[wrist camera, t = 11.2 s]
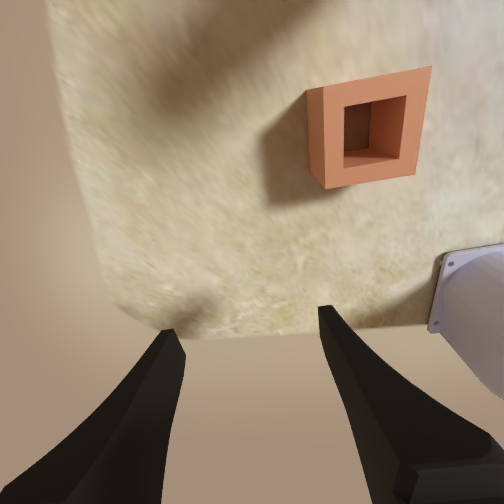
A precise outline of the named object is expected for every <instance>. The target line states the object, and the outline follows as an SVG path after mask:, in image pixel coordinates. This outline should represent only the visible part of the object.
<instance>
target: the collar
mask: <svg viewBox="0 0 504 504" xmlns="http://www.w3.org/2000/svg"><path fill="white" fill-rule="evenodd" d="M431 69H432V66H429V67H423V68H418V69H413V70H408V71H403V72H397V73H392V74H387V75H382V76H377V77H371V78H366V79H361V80H356V81H351V82H345V83H340V84H335V85H330V86H325V87H320V88H315V89H310V90H306V98H307V119H308V139H309V159H310V173H311V174H312V175H313V176H314V177H315V179H316V180H317V181H318V182H319V183H320V184H321V185H322V186H323V187H324V188H325V189H330V188H336V187H342V186H348V185H354V184H360V183H366V182H372V181H378V180H384V179H390V178H396V177H402V176H408V175H414V174H415V173H416V166H417V160H418V153H419V147H420V140H421V134H422V127H423V121H424V114H425V108H426V101H427V95H428V88H429V82H430V75H431ZM367 102H371V117H370V133H369V148H364V149H359V150H353V151H347V152H344V107H345V106H351V105H356V104H361V103H367Z"/></svg>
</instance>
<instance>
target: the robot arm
mask: <svg viewBox="0 0 504 504" xmlns="http://www.w3.org/2000/svg"><path fill="white" fill-rule="evenodd" d="M449 262H450V263H449ZM448 263H449V264H448ZM318 316H319V330H320V338H321V342H322V345H323V349H324V353H325V356H326V359H327V362H328V365H329V367H330V370H331V372H332V375H333V377H334V380H335V383H336V385H337V388H338V390H339V393H340V396H341V398H342V401H343V403H344V406H345V409H346V412H347V415H348V418H349V422H350V425H351V429H352V432H353V435H354V439H355V442H356V446H357V449H358V453H359V456H360V460H361V463H362V467H363V471H364V474H365V478H366V482H367V485H368V489H369V493H370V496H371V500H372V503H373V504H504V450H503V449H502V447H501V446H500V445H499V444H498V443H497V442H496V441H495V439H494V438H493V437H492V436H491V435H490V434H489V433H488V432H486V431H484V430H482V429H481V428H479V427H477V426H476V425H474V424H472V423H471V422H469V421H467V420H466V419H464V418H462V417H461V416H459V415H457V414H456V413H454V412H453V411H451V410H450V409H448V408H447V407H445V406H443V405H442V404H440V403H439V402H437V401H436V400H435V399H433V398H432V397H430V396H429V395H428V394H426V393H425V392H423V391H422V390H420V389H419V388H418V387H416V386H415V385H413V384H412V383H411V382H409V381H408V380H407V379H405V378H404V377H403V376H402V375H401V374H399V373H398V372H397V371H395V370H394V369H393V368H392V367H391V366H389V365H388V364H387V363H386V362H385V361H383V359H381V358H380V357H379V356H378V355H377V354H376V353H375V352H374V351H373V350H372V349H371V348H370V347H369V346H367V345H366V343H364V341H363V340H362V339H361V338H360V337H359V336H358V335H357V334H356V333H355V332H354V331H353V330H352V329H351V328H350V327H349V325H348V324H347V323H346V322H345V321H344V320H343V318H342V317H341V316H340V315H339V314H338V312H337V311H336V310H335V308H334V307H333V306H332V305H326V306H320V307H318ZM427 330H428V331H429V332H430V333H441V335H442V336H443V337H444V338H445V339H446V341H447V342H448V343H449V344H450V345H451V346H452V348H453V349H454V350H455V351H456V352H457V354H458V355H459V356H460V357H461V358H462V360H463V361H464V362H465V363H466V364H467V366H468V367H469V368H470V369H471V370H472V371H473V373H474V374H475V375H476V376H477V377H478V378H479V380H480V381H481V382H482V383H483V384H484V385H485V386H486V387H487V388H488V389H489V390H490V391H491V392H493V393H494V394H495V395H497V396H498V397H500V398H501V399H503V400H504V243H503V244H497V245H491V246H485V247H478V248H472V249H466V250H460V251H454V252H449V253H447V254H445V256H444V257H443V261H442V266H441V270H440V274H439V279H438V283H437V288H436V292H435V296H434V301H433V305H432V310H431V314H430V318H429V323H428V327H427ZM185 360H186V355H185V352H184V350H183V348H182V346H181V344H180V342H179V340H178V338H177V336H176V333H175V331H174V329H167V330H161V332H160V333H159V335H158V336H157V337H156V338H155V340H154V341H153V342H152V344H151V345H150V346H149V348H148V349H147V350H146V351H145V353H144V354H143V356H142V357H141V358H140V359H139V361H138V362H137V363H136V364H135V366H134V367H133V368H132V369H131V371H130V372H129V373H128V374H127V376H126V377H125V378H124V379H123V380H122V381H121V383H120V384H119V385H118V386H117V387H116V389H115V390H114V391H113V392H112V393H111V394H110V395H109V396H108V397H107V398H106V399H105V400H104V402H103V403H102V404H101V405H100V406H99V407H98V408H97V409H96V410H95V411H94V412H93V413H92V414H91V415H90V416H89V417H88V418H87V419H85V421H83V422H82V423H81V424H80V425H79V426H78V427H77V428H76V429H75V430H74V431H73V432H72V433H71V434H69V435H68V436H67V437H66V438H65V439H64V440H63V441H61V442H60V443H59V444H58V445H57V446H56V447H54V449H52V450H51V451H50V452H48V453H47V455H45V456H44V457H42V459H40V460H39V461H37V462H36V463H35V464H34V465H32V466H31V467H30V468H28V469H27V470H26V471H25V472H23V473H22V474H21V475H19V476H18V477H17V478H15V479H14V480H13V481H12V482H10V483H9V484H8V485H6V486H5V487H4V488H3V490H2V491H1V493H0V504H161V498H162V489H163V480H164V472H165V465H166V456H167V450H168V444H169V437H170V431H171V427H172V422H173V418H174V414H175V410H176V406H177V401H178V397H179V394H180V389H181V385H182V381H183V376H184V368H185Z"/></svg>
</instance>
